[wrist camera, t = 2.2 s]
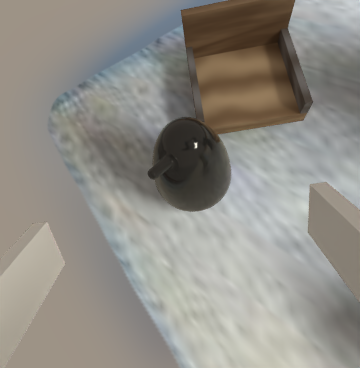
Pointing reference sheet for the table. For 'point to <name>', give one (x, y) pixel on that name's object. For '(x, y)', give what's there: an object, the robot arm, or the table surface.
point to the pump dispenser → (190, 165)
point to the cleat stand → (244, 65)
